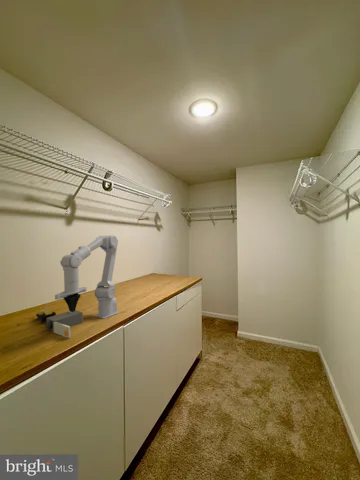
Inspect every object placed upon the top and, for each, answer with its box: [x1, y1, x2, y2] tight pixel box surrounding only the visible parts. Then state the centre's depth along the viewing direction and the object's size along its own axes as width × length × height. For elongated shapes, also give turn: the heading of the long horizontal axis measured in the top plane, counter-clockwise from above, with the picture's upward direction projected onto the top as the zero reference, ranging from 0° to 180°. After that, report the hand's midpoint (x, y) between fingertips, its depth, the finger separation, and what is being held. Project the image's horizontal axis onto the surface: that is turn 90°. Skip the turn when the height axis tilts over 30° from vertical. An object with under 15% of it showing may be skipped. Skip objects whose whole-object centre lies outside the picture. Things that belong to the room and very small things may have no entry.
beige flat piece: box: [52, 322, 72, 339], centre depth 86 cm, size 12×2×4 cm, turn 60°
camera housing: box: [45, 309, 84, 332], centre depth 97 cm, size 14×8×6 cm, turn 147°
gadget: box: [35, 308, 57, 323], centre depth 105 cm, size 6×13×6 cm, turn 48°
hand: (72, 311), depth 91 cm, fingers closed
